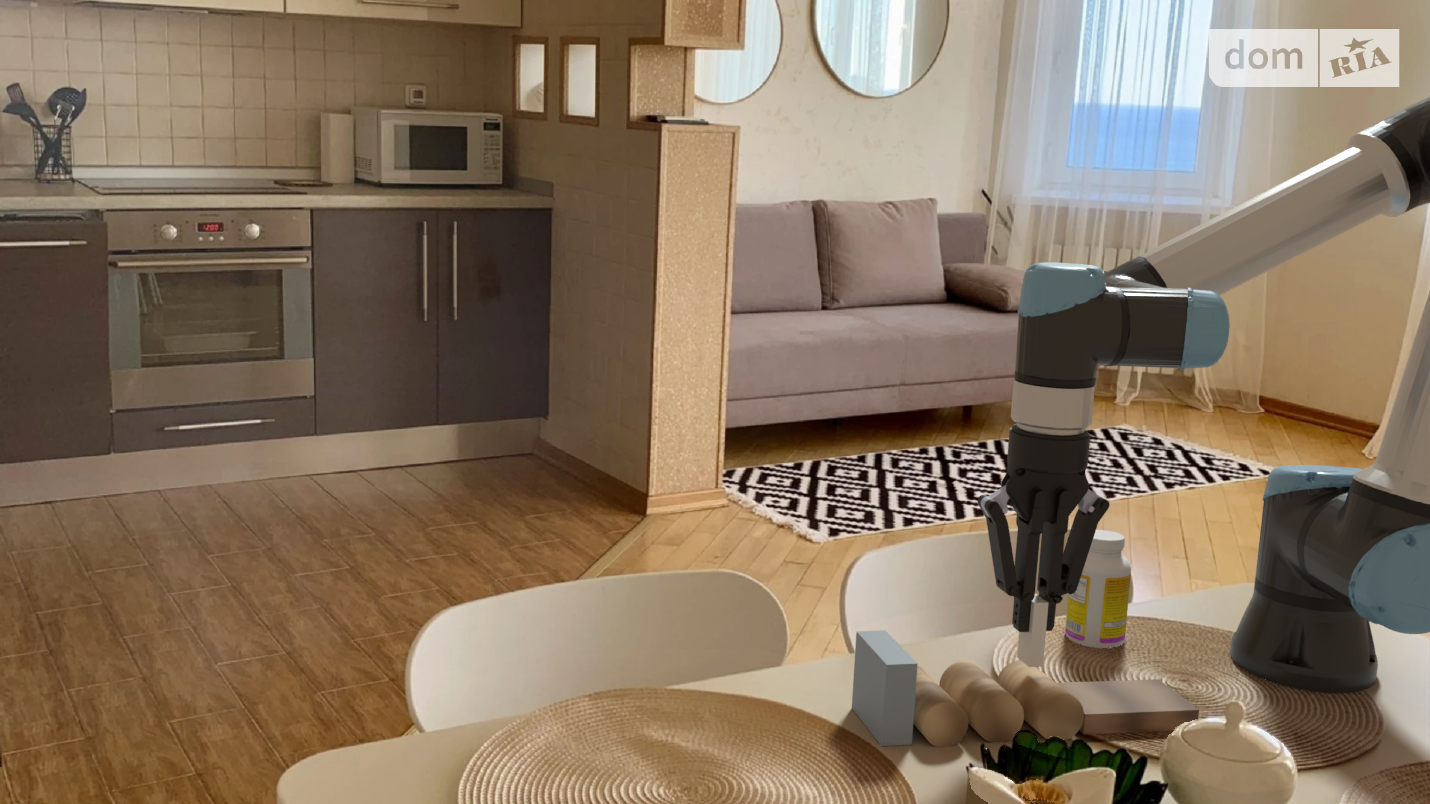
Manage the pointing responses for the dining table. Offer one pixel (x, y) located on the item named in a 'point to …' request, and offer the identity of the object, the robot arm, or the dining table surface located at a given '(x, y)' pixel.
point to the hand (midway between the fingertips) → (1029, 661)
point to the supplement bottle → (1101, 595)
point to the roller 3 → (1042, 700)
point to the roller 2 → (983, 701)
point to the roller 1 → (937, 713)
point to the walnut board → (1130, 706)
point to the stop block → (884, 687)
